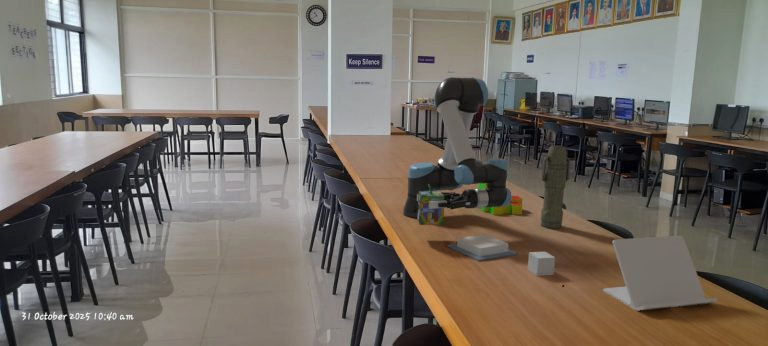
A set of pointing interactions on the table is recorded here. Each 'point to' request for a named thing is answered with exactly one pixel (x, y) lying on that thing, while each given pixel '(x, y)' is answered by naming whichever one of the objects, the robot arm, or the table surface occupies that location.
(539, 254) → the white cube
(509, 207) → the building blocks toy
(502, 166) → the robot arm
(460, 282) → the table surface
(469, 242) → the base block
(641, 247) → the tablet stand
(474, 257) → the board
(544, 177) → the dark piece
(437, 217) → the chalk box
